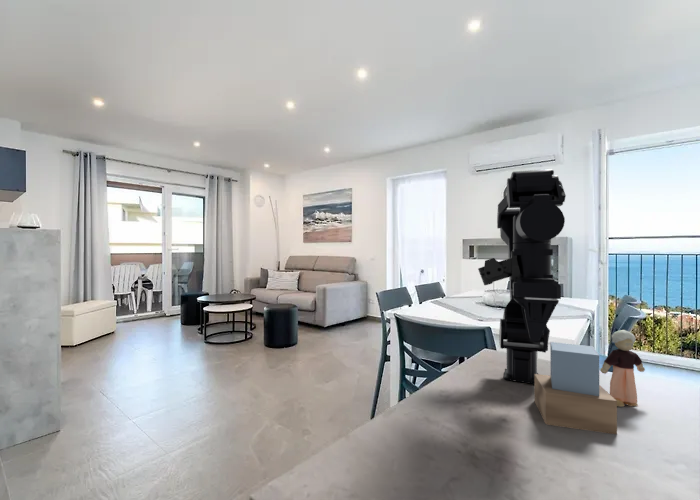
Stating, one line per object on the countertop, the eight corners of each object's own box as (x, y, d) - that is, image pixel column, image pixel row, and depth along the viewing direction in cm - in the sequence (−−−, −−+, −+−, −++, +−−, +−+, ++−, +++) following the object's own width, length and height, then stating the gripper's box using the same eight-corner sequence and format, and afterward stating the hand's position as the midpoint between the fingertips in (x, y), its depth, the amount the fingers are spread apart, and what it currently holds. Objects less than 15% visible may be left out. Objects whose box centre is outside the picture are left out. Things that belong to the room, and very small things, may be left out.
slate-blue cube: (550, 377, 59) (550, 341, 59) (593, 383, 56) (593, 346, 57) (552, 388, 54) (552, 349, 54) (599, 396, 51) (599, 355, 51)
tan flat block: (534, 402, 61) (534, 373, 61) (594, 410, 58) (594, 380, 58) (545, 426, 52) (545, 392, 52) (617, 436, 49) (616, 400, 50)
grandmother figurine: (619, 410, 57) (618, 333, 58) (597, 401, 61) (596, 328, 61) (653, 405, 59) (652, 331, 60) (629, 396, 63) (629, 326, 63)
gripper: (483, 245, 71) (483, 321, 71) (478, 241, 54) (478, 342, 54) (545, 245, 67) (545, 326, 66) (561, 241, 49) (561, 351, 49)
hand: (531, 335), depth 59 cm, fingers open, 9 cm apart
